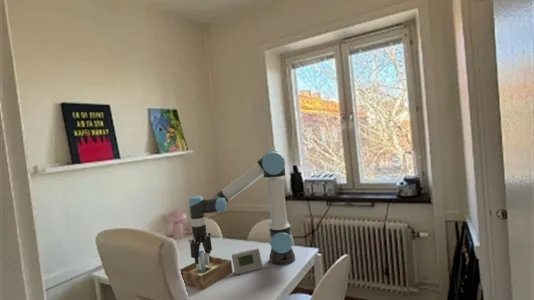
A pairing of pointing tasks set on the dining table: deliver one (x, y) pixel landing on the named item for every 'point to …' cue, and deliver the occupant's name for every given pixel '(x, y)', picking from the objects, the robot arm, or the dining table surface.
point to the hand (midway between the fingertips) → (203, 266)
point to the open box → (206, 273)
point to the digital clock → (247, 261)
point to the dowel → (202, 262)
